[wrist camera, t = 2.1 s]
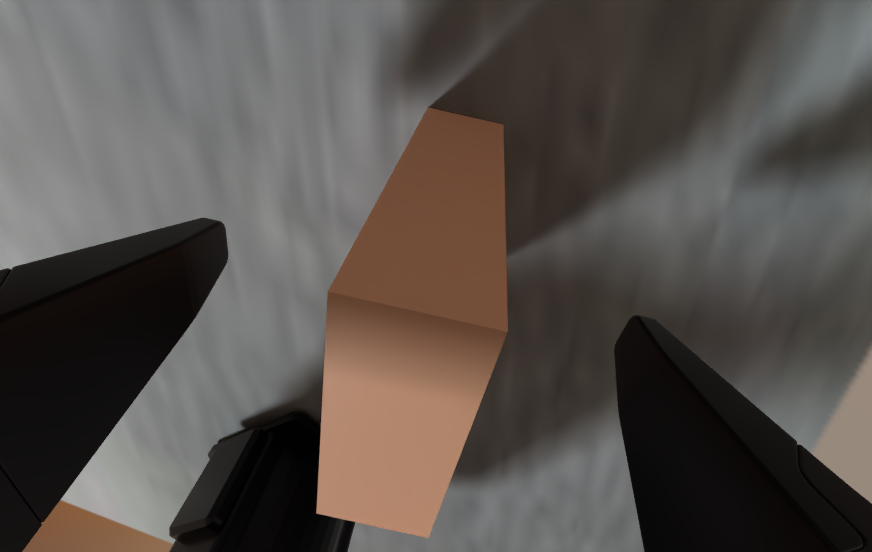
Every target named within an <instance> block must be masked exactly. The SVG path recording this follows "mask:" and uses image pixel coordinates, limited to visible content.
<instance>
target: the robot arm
mask: <svg viewBox="0 0 872 552" xmlns="http://www.w3.org/2000/svg"><path fill="white" fill-rule="evenodd" d="M227 260H228V247H227V238H226V229H225V226H224V224H223V223H222V222H221V221H217V220H212V219H208V218H199V219H196V220H192V221H188V222H184V223H180V224H176V225H172V226H169V227H165V228H161V229H157V230H153V231H149V232H146V233H142V234H138V235H134V236H130V237H126V238H123V239H119V240H115V241H111V242H107V243H103V244H100V245H96V246H92V247H88V248H84V249H80V250H76V251H73V252H69V253H65V254H61V255H57V256H53V257H50V258H46V259H42V260H38V261H34V262H30V263H27V264H23V265H19V266H15V267H13V268H12V269H8V268H7V269H3V270H0V552H22V551H23V550H24V548H25V547H26V545H27V544H28V543H29V542H30V540H31V539H32V537H33V536H34V535H35V533H36V532H37V531H38V529H39V528H40V527H41V525H42V524H41V522H44V521H45V519H46V518H47V517H48V515H49V514H50V513H51V511H52V510H53V508H54V507H55V506H56V505H57V503H58V502H59V501H60V499H61V498H62V497H63V495H64V494H65V493H66V491H67V490H68V489H69V487H70V486H71V485H72V483H73V482H74V481H75V479H76V478H77V476H78V475H79V474H80V472H81V471H82V470H83V468H84V467H85V466H86V464H87V463H88V462H89V460H90V459H91V458H92V456H93V455H94V454H95V452H96V451H97V450H98V448H99V447H100V446H101V444H102V443H103V442H104V440H105V439H106V438H107V436H108V435H109V433H110V432H111V431H112V429H113V428H114V427H115V425H116V424H117V423H118V421H119V420H120V419H121V417H122V416H123V415H124V413H125V412H126V411H127V409H128V408H129V407H130V405H131V404H132V403H133V401H134V400H135V399H136V397H137V396H138V395H139V393H140V392H141V390H142V389H143V388H144V386H145V385H146V384H147V382H148V381H149V380H150V378H151V377H152V376H153V374H154V373H155V372H156V370H157V369H158V368H159V366H160V365H161V364H162V362H163V361H164V360H165V358H166V357H167V356H168V354H169V353H170V352H171V350H172V349H173V347H174V346H175V345H176V343H177V342H178V341H179V339H180V338H181V337H182V335H183V334H184V333H185V331H186V330H187V329H188V327H189V326H190V324H191V323H192V322H193V320H194V319H195V317H196V316H197V314H198V312H199V311H200V309H201V307H202V306H203V304H204V302H205V300H206V299H207V297H208V295H209V293H210V292H211V290H212V288H213V286H214V285H215V283H216V281H217V279H218V278H219V276H220V274H221V272H222V271H223V269H224V267H225V265H226V263H227ZM614 355H615V370H616V385H617V400H618V411H619V418H620V424H621V429H622V435H623V440H624V445H625V451H626V456H627V461H628V466H629V472H630V477H631V482H632V488H633V493H634V498H635V504H636V509H637V514H638V520H639V525H640V530H641V536H642V541H643V546H644V551H645V552H872V504H871V503H870V502H869V501H868V500H866V499H865V498H864V497H863V496H861V495H860V494H859V493H858V492H856V491H855V490H854V489H853V488H851V487H850V486H849V485H848V484H846V483H845V482H844V481H843V480H842V479H841V478H839V477H838V476H837V475H836V474H835V473H833V472H832V471H831V470H830V469H829V468H827V467H826V466H825V465H824V464H823V463H821V462H820V461H819V460H818V459H817V458H816V457H814V456H813V455H812V454H811V453H810V452H809V451H807V450H806V449H805V448H804V447H803V446H802V445H797V441H796V440H795V439H793V438H792V437H791V436H790V435H789V434H788V433H786V432H785V431H784V430H783V429H782V428H781V427H779V426H778V425H777V424H776V423H775V422H774V421H772V420H771V419H770V418H769V417H768V416H767V415H765V414H764V413H763V412H762V411H761V410H760V409H758V408H757V407H756V406H755V405H754V404H753V403H751V402H750V401H749V400H748V399H747V398H746V397H744V396H743V395H742V394H741V393H740V392H739V391H737V390H736V389H735V388H734V387H733V386H732V385H730V384H729V383H728V382H727V381H726V380H725V379H723V378H722V377H721V376H720V375H719V374H718V373H716V372H715V371H714V370H713V369H712V368H711V367H709V366H708V365H707V364H706V363H705V362H704V361H702V360H701V359H700V358H699V357H698V356H697V355H696V354H694V353H693V352H692V351H691V350H690V349H689V348H687V347H686V346H685V345H684V344H683V343H682V342H680V341H679V340H678V339H677V338H676V337H675V336H673V335H672V334H671V333H670V332H669V331H668V330H666V329H665V328H664V327H663V326H662V325H661V324H659V323H658V322H657V321H656V320H655V319H652V318H649V317H644V316H639V315H635V316H633V317H631V318H630V320H629V321H628V323H627V325H626V326H625V328H624V330H623V331H622V333H621V335H620V336H619V338H618V340H617V342H616V344H615V350H614ZM320 435H321V427H319V426H318V425H317V424H316V423H315V422H314V421H312V420H311V419H310V418H309V417H308V416H306V415H304V414H302V413H291V414H289V415H287V416H284V417H282V418H279V419H277V420H274V421H272V422H269V423H267V424H265V425H262V426H260V427H257V428H255V429H252V430H249V431H247V432H244V433H242V434H239V435H237V436H235V437H232V438H230V439H227V440H225V441H222V442H221V443H218V444H216V445H214V446H213V447H212V448H211V450H210V452H209V453H208V457H209V458H210V461H209V462H208V464H207V466H206V467H205V469H204V471H203V472H202V474H201V476H200V477H199V479H198V481H197V482H196V484H195V486H194V487H193V489H192V491H191V492H190V494H189V496H188V497H187V499H186V501H185V502H184V504H183V506H182V507H181V509H180V511H179V512H178V514H177V516H176V517H175V519H174V521H173V522H172V524H171V526H170V537H172V538H174V539H176V540H175V542H174V544H173V546H172V547H171V549H170V551H169V552H347V551H348V547H349V544H350V540H351V536H352V532H353V528H354V525H355V522H353V521H348V520H344V519H339V518H335V517H330V516H326V515H321V514H316V512H317V493H318V474H319V454H320Z"/></svg>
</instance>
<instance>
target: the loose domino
mask: <svg viewBox="0 0 872 552" xmlns="http://www.w3.org/2000/svg"><path fill="white" fill-rule="evenodd" d="M507 333H508V309H507V263H506V216H505V170H504V125H503V124H499V123H494V122H490V121H486V120H481V119H477V118H472V117H468V116H464V115H459V114H455V113H450V112H446V111H442V110H437V109H433V108H429V107H428V108H427V110H426V112H425V114H424V116H423V118H422V119H421V121H420V123H419V125H418V127H417V129H416V130H415V132H414V134H413V136H412V138H411V140H410V141H409V143H408V145H407V147H406V149H405V151H404V152H403V154H402V156H401V158H400V160H399V162H398V164H397V165H396V167H395V169H394V171H393V173H392V175H391V176H390V178H389V180H388V182H387V184H386V186H385V187H384V189H383V191H382V193H381V195H380V197H379V198H378V200H377V202H376V204H375V206H374V208H373V209H372V211H371V213H370V215H369V217H368V219H367V221H366V222H365V224H364V226H363V228H362V230H361V232H360V233H359V235H358V237H357V239H356V241H355V243H354V244H353V246H352V248H351V250H350V252H349V254H348V255H347V257H346V259H345V261H344V263H343V265H342V266H341V268H340V270H339V272H338V274H337V276H336V278H335V279H334V281H333V283H332V285H331V287H330V289H329V290H328V299H327V318H326V338H325V357H324V376H323V396H322V415H321V435H320V454H319V474H318V493H317V512H316V514H321V515H326V516H330V517H335V518H339V519H344V520H348V521H353V522H357V523H362V524H366V525H371V526H376V527H380V528H385V529H389V530H394V531H398V532H403V533H407V534H412V535H416V536H421V537H426V538H428V537H429V535H430V532H431V530H432V527H433V525H434V522H435V519H436V517H437V514H438V512H439V509H440V506H441V504H442V501H443V499H444V496H445V494H446V491H447V488H448V486H449V483H450V481H451V478H452V475H453V473H454V470H455V468H456V465H457V462H458V460H459V457H460V455H461V452H462V450H463V447H464V444H465V442H466V439H467V437H468V434H469V431H470V429H471V426H472V424H473V421H474V418H475V416H476V413H477V411H478V408H479V406H480V403H481V400H482V398H483V395H484V393H485V390H486V387H487V385H488V382H489V380H490V377H491V375H492V372H493V369H494V367H495V364H496V362H497V359H498V356H499V354H500V351H501V349H502V346H503V343H504V341H505V338H506V336H507Z"/></svg>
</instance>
